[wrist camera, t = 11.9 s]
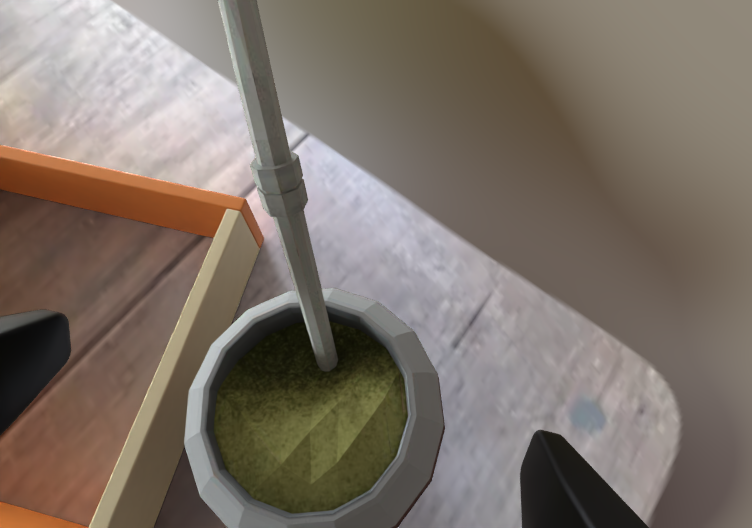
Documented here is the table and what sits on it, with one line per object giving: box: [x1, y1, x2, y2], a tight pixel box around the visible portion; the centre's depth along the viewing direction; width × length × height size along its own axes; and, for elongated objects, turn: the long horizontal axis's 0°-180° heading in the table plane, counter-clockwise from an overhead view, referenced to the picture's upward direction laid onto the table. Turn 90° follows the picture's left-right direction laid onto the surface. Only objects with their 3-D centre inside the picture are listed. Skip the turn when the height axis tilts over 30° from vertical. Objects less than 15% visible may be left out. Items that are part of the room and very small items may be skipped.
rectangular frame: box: [0, 145, 264, 528], centre depth 17 cm, size 13×14×4 cm
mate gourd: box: [184, 0, 445, 528], centre depth 11 cm, size 8×8×15 cm
